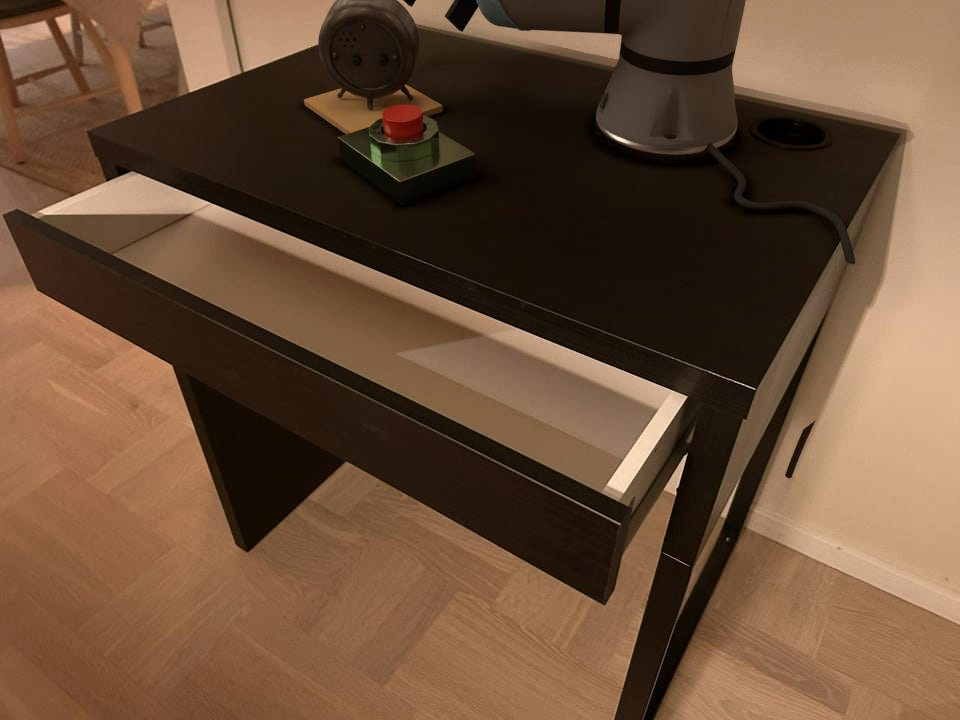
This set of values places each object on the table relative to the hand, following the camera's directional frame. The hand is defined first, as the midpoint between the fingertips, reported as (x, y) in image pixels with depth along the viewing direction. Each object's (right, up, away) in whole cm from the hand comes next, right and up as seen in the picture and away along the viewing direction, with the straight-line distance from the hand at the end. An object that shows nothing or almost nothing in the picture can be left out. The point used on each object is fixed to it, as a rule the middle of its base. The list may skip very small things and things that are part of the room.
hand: (427, 11), depth 87 cm
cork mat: (-7, -11, +2) cm, 13 cm away
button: (-2, -18, -12) cm, 22 cm away
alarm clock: (-6, -11, +1) cm, 12 cm away
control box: (-1, -21, -9) cm, 23 cm away
